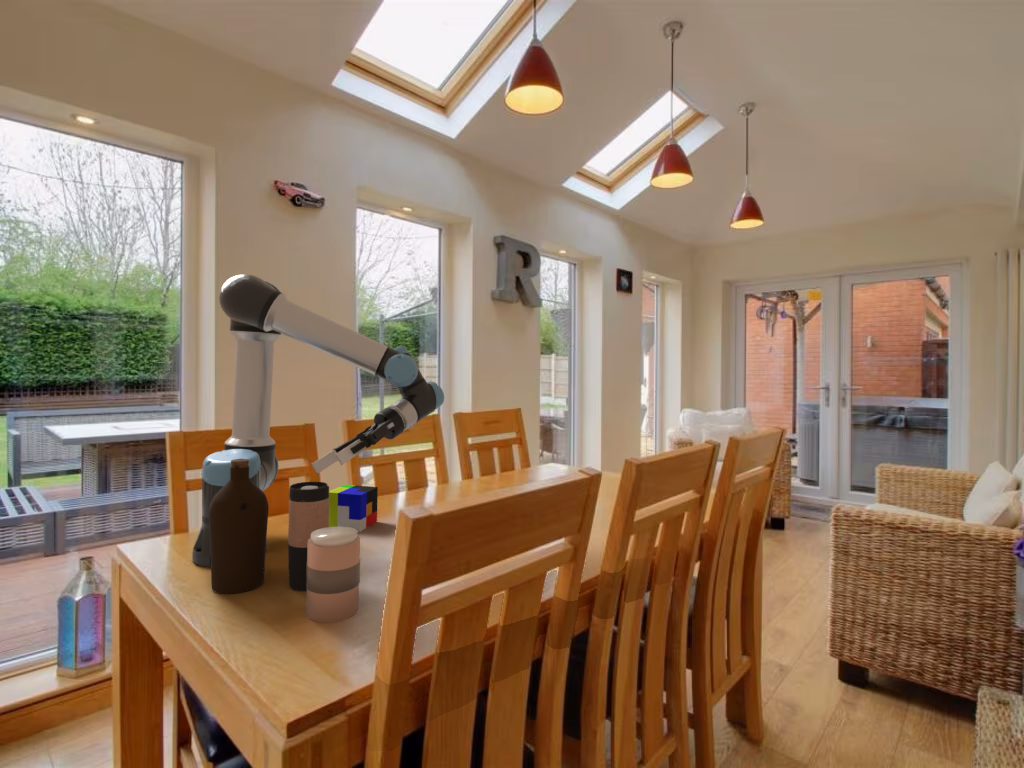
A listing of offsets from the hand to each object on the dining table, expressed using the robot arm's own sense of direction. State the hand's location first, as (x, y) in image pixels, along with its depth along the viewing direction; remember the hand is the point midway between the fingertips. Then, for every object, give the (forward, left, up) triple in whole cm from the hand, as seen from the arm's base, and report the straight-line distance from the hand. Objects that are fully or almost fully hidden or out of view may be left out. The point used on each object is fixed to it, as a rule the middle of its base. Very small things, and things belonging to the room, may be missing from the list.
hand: (325, 464), depth 123 cm
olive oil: (-13, -14, -22) cm, 29 cm away
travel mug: (0, -14, -22) cm, 26 cm away
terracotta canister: (+8, -26, -22) cm, 35 cm away
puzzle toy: (0, +26, -22) cm, 34 cm away
